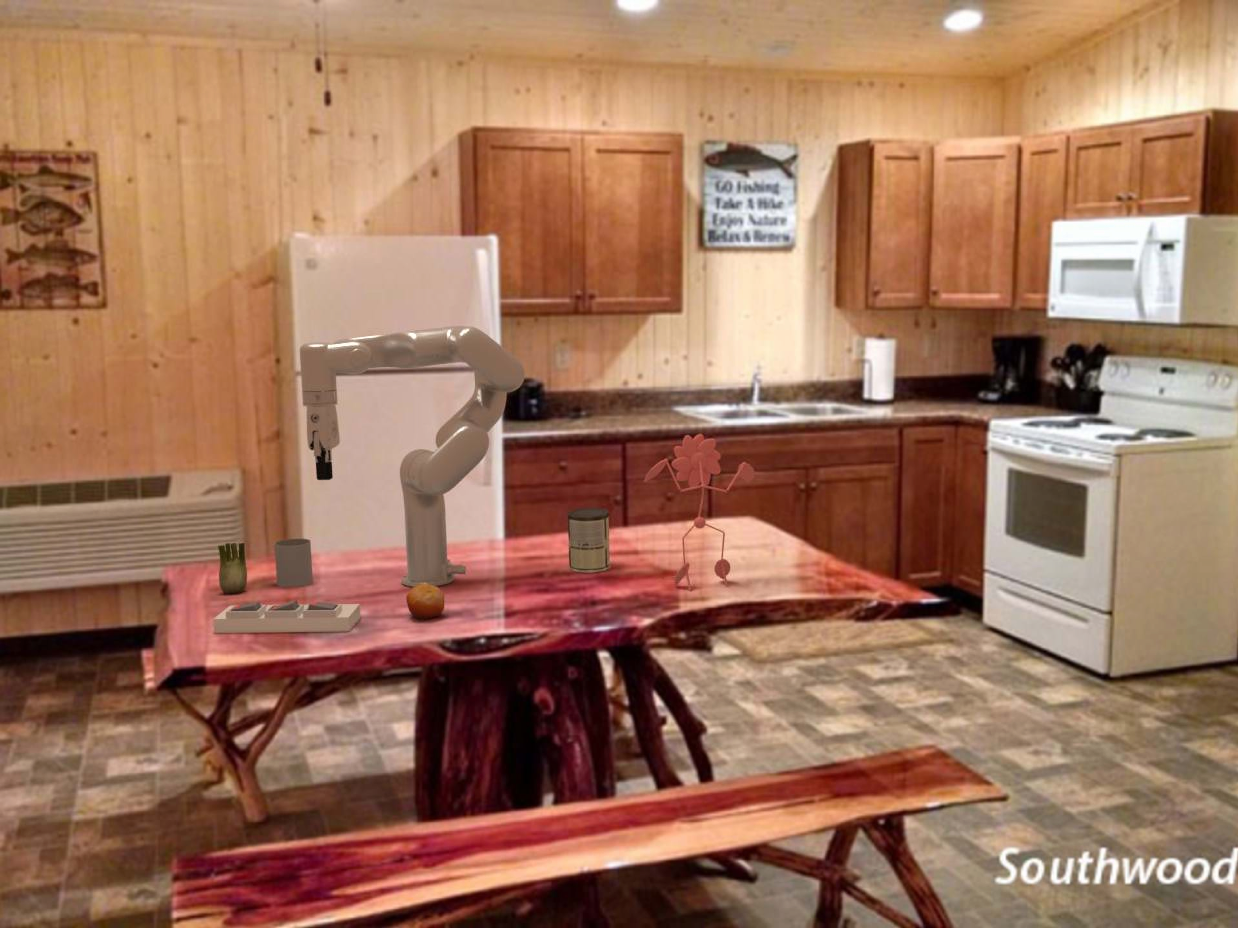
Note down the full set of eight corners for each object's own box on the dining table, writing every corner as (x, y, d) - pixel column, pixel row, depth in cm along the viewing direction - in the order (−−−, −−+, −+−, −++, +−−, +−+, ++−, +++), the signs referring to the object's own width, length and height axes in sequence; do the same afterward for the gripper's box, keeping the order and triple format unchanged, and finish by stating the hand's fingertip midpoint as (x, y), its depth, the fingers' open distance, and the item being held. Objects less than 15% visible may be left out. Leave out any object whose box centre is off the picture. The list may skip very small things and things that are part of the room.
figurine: (762, 583, 276) (759, 433, 271) (658, 595, 268) (653, 441, 263) (734, 570, 290) (731, 427, 286) (634, 581, 282) (630, 434, 277)
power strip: (360, 617, 255) (359, 597, 255) (349, 631, 245) (347, 610, 245) (231, 619, 256) (229, 599, 255) (214, 632, 246) (212, 612, 245)
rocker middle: (298, 604, 249) (296, 599, 249) (294, 609, 246) (291, 603, 246) (276, 611, 250) (274, 606, 249) (271, 616, 246) (269, 610, 246)
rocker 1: (260, 606, 250) (259, 600, 249) (255, 611, 246) (254, 605, 246) (237, 611, 250) (236, 605, 250) (232, 615, 247) (231, 609, 246)
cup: (303, 588, 281) (300, 546, 279) (270, 587, 282) (267, 545, 281) (318, 579, 289) (316, 538, 287) (287, 578, 290) (284, 538, 289)
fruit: (428, 601, 262) (436, 574, 257) (444, 625, 257) (453, 598, 253) (395, 608, 257) (403, 580, 252) (411, 633, 252) (419, 606, 248)
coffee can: (562, 566, 297) (560, 510, 295) (599, 561, 301) (598, 506, 299) (578, 575, 288) (577, 517, 285) (617, 569, 292) (616, 513, 290)
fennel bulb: (249, 589, 280) (245, 539, 279) (243, 595, 276) (240, 544, 274) (224, 590, 280) (220, 540, 278) (218, 595, 275) (214, 545, 274)
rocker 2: (336, 609, 249) (336, 603, 249) (332, 614, 246) (332, 608, 246) (312, 606, 249) (313, 600, 249) (308, 610, 246) (308, 604, 246)
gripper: (327, 401, 259) (332, 485, 262) (345, 394, 273) (349, 473, 276) (293, 402, 259) (298, 485, 262) (312, 395, 274) (317, 474, 277)
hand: (324, 479), depth 269 cm, fingers closed
